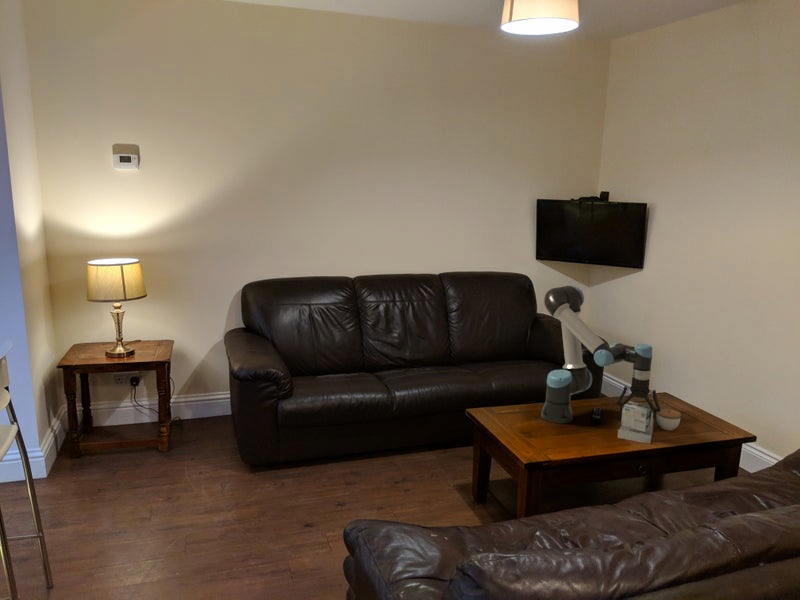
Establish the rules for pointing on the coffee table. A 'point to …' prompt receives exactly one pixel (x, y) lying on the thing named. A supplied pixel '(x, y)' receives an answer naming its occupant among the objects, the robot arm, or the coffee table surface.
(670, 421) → the lidded jar
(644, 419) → the light bulb box
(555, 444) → the coffee table surface
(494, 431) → the coffee table surface
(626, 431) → the chute
